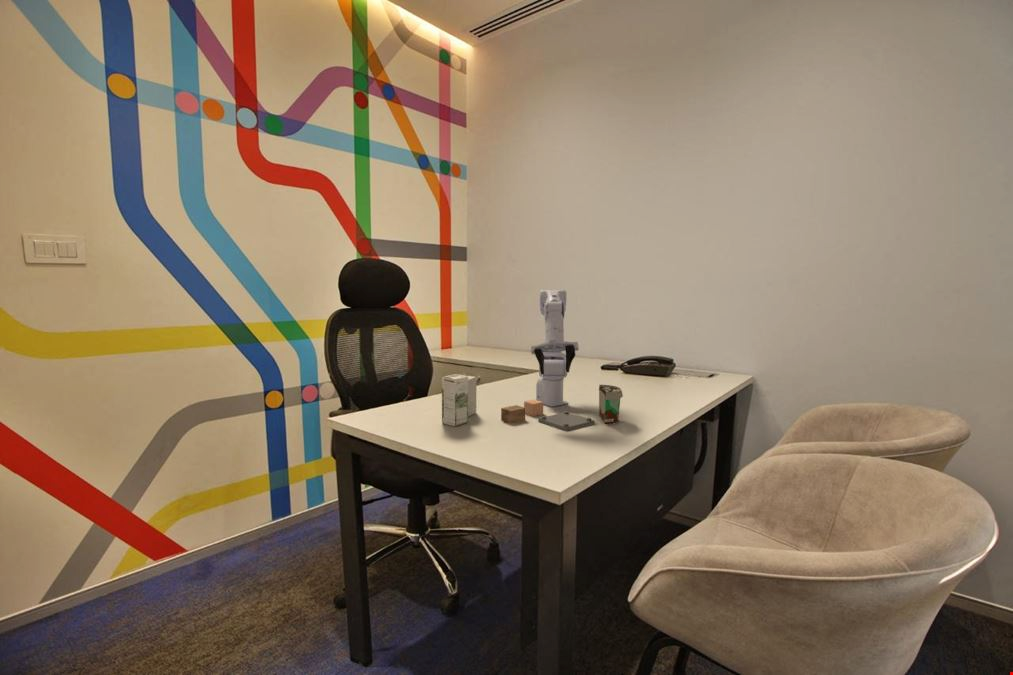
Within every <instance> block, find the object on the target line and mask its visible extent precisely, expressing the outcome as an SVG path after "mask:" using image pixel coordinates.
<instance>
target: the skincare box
mask: <svg viewBox="0 0 1013 675" xmlns="http://www.w3.org/2000/svg"><path fill="white" fill-rule="evenodd" d="M466 376H467V377H468V418H469V417H470V416H472V415H474V414H476V413H477V376H473V375H472V376H471V375H466Z"/></svg>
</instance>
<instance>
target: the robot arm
mask: <svg viewBox="0 0 1013 675" xmlns="http://www.w3.org/2000/svg"><path fill="white" fill-rule="evenodd" d="M539 307H540V308H539V309H540V315H542V316H544V326H545V328H544V329H545V332H544V333H545V335H544V336H545V340H544V341H545V342H542V343H539V344H536V345H531V347H530V353H531V355H535V358H536V360H537V361H538V362H537V363H538V369H539V370H538V375H539V378H538V379H537V382H536V388H535V389H536V391H535V392H536V395H535V398H536V399H535V400H538V401H541V402H543V405H545V406H549V407H551V408H552V407H558V406H562V405H567V404H569V401H566V400H564V379H565V378H567V376H568V373H570V370H571V365H572V362H573V360H575V359H574V358H575V357H576V352H577V351H579V350H580V349H579V348H580V347H579V343H578V341H565V340H564V339H565V335H564V320H565V313H566V311H567V308H566V307H567V291H566V289H557V290H556V289H541V290H540V291H539ZM564 351H565V353H564Z"/></svg>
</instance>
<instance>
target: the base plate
mask: <svg viewBox="0 0 1013 675" xmlns="http://www.w3.org/2000/svg"><path fill="white" fill-rule="evenodd" d="M537 420H538V422H539V423H542V424H545V425H547V426H549V427H553V428H556V429H559V430H562V431H565V432H568V431H571V430H576V429H578V428H579V429H580V428H584V427H586V426H587V425H588V426H591V425H595V423H596V421H595V419H592V417H584V416H581V415H577V414H575V413H571V412H569V411H568V410H564V412H562V413H561V412H560V413H556V414H553V415H552V414H551V415H547V416H546V415H542V416H541V417H538V419H537ZM583 426H584V427H583Z"/></svg>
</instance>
